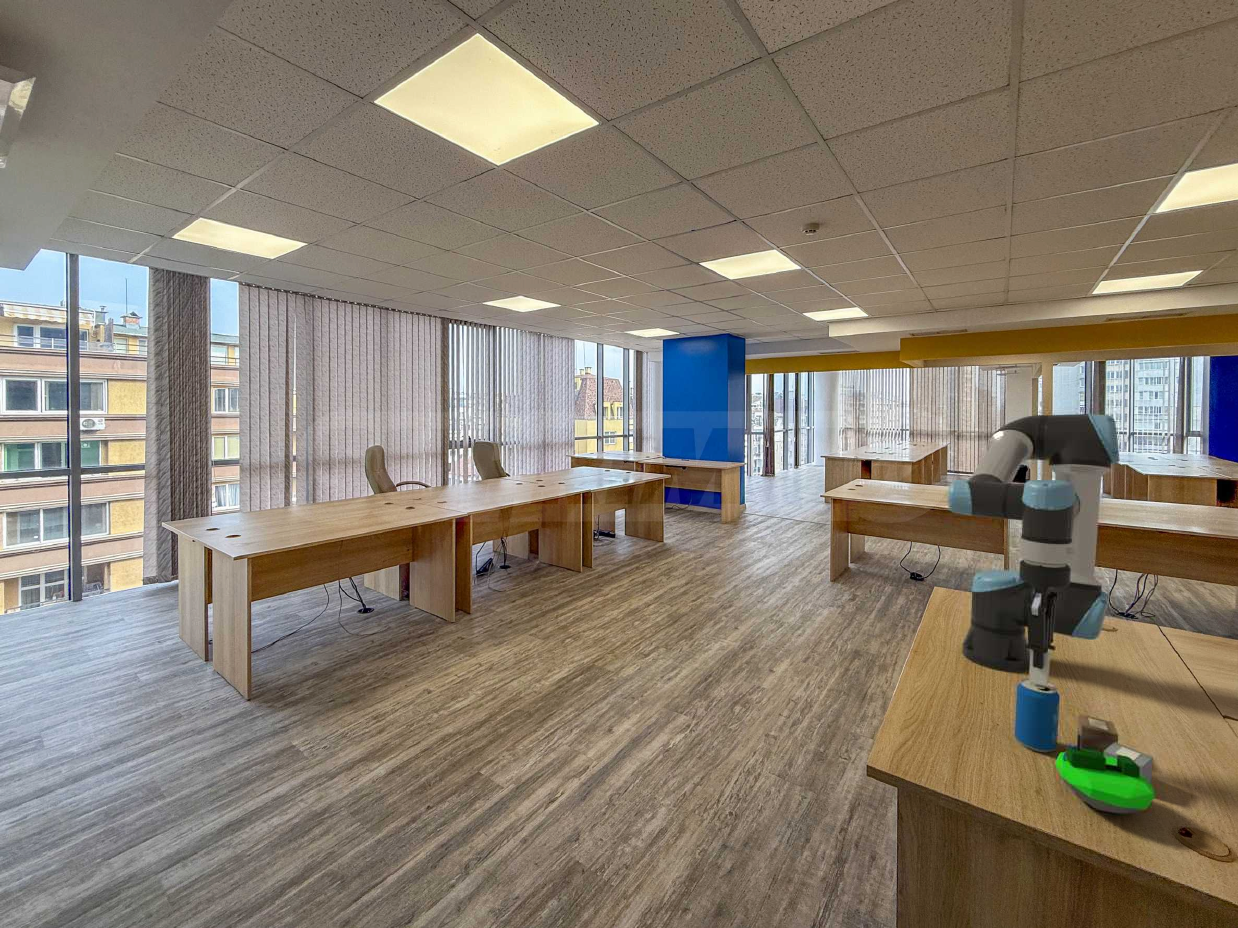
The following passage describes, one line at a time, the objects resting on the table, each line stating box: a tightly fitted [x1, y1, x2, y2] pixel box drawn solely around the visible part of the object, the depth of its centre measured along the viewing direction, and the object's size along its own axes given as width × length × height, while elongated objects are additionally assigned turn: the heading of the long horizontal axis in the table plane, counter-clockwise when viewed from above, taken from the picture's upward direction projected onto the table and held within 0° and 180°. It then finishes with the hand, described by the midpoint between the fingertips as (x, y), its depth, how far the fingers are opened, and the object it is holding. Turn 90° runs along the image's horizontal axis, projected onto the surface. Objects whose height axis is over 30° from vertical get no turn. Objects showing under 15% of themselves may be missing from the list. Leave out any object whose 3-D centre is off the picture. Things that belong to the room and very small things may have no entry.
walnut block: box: [1076, 714, 1119, 755], centre depth 101 cm, size 5×5×5 cm
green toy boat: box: [1055, 734, 1156, 815], centre depth 87 cm, size 12×12×11 cm
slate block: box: [1103, 742, 1154, 785], centre depth 92 cm, size 5×5×5 cm
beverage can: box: [1014, 677, 1061, 753], centre depth 103 cm, size 6×6×12 cm
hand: (1038, 681), depth 102 cm, fingers closed
